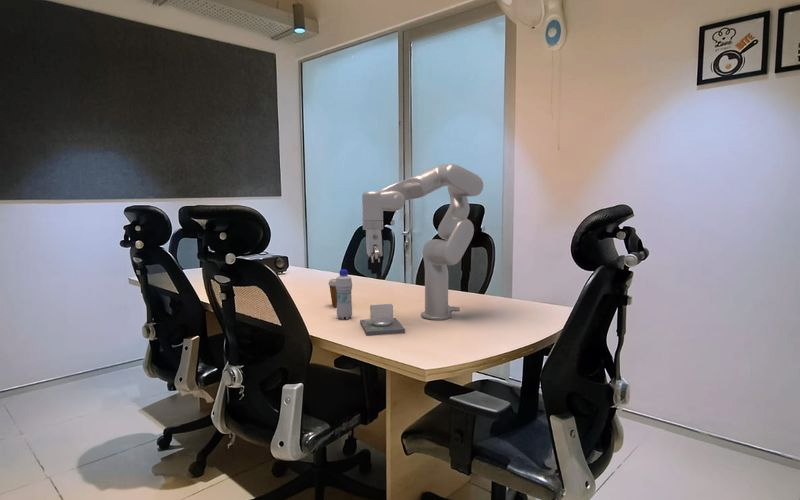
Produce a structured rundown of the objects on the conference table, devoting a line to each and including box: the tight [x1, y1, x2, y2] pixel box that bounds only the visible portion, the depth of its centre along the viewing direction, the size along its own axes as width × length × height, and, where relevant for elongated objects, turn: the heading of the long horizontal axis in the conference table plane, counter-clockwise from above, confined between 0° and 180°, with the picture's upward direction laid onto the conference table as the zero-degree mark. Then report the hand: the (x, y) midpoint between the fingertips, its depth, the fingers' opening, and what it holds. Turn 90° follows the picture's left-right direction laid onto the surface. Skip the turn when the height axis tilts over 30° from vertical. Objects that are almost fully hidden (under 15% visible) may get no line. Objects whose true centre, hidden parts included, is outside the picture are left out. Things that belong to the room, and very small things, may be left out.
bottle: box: [335, 269, 353, 320], centre depth 193 cm, size 7×7×20 cm
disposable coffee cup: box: [328, 278, 337, 309], centre depth 215 cm, size 10×10×12 cm
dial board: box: [359, 317, 406, 336], centre depth 179 cm, size 14×17×2 cm
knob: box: [363, 303, 394, 326], centre depth 178 cm, size 7×10×7 cm, turn 102°
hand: (373, 271), depth 178 cm, fingers open, 9 cm apart
